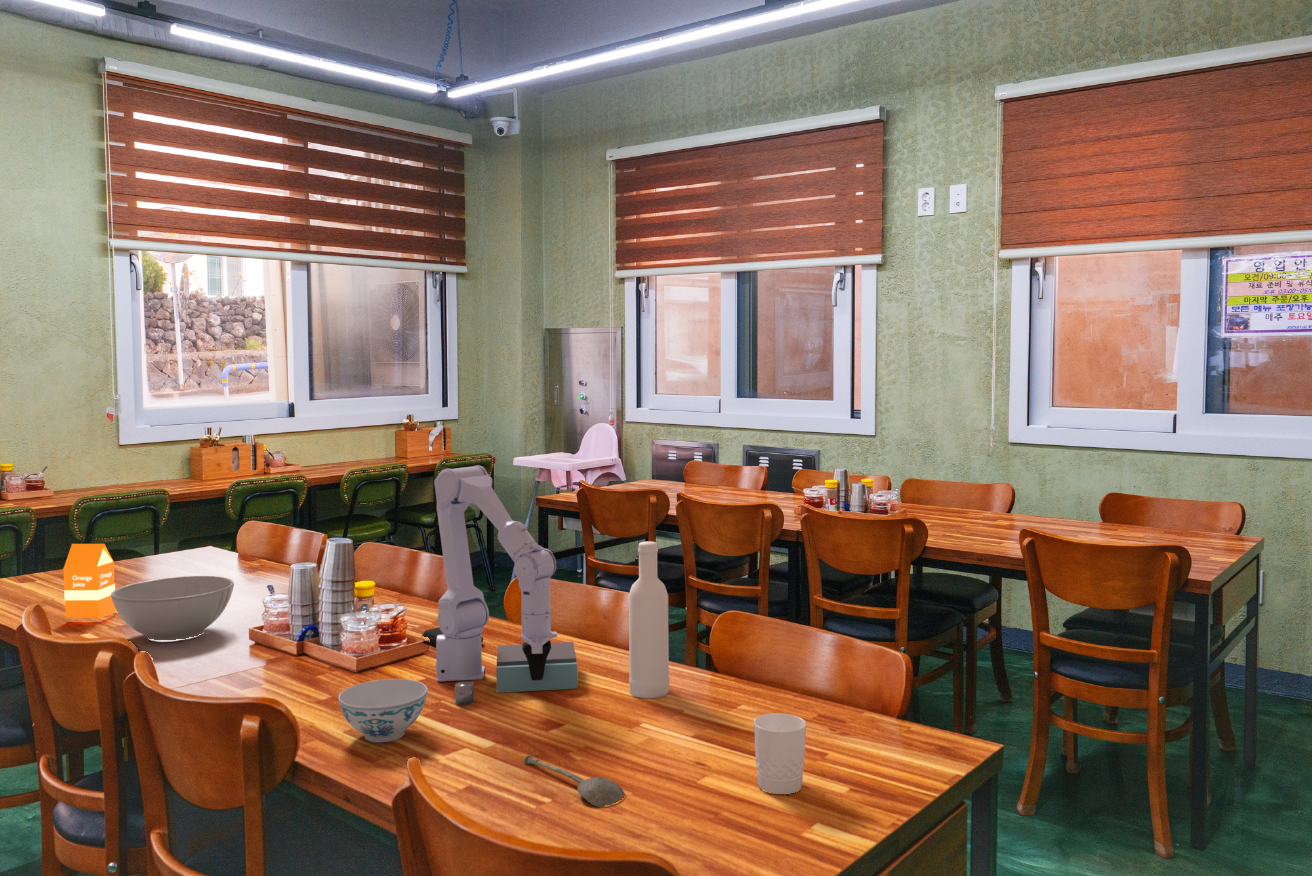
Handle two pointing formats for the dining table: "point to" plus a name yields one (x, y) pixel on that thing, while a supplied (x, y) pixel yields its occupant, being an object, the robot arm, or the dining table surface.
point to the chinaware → (383, 707)
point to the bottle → (648, 629)
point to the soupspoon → (589, 786)
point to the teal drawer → (521, 680)
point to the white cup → (780, 752)
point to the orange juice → (89, 582)
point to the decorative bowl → (173, 605)
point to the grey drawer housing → (516, 656)
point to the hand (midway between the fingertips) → (537, 679)
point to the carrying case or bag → (435, 635)
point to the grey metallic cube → (464, 693)
